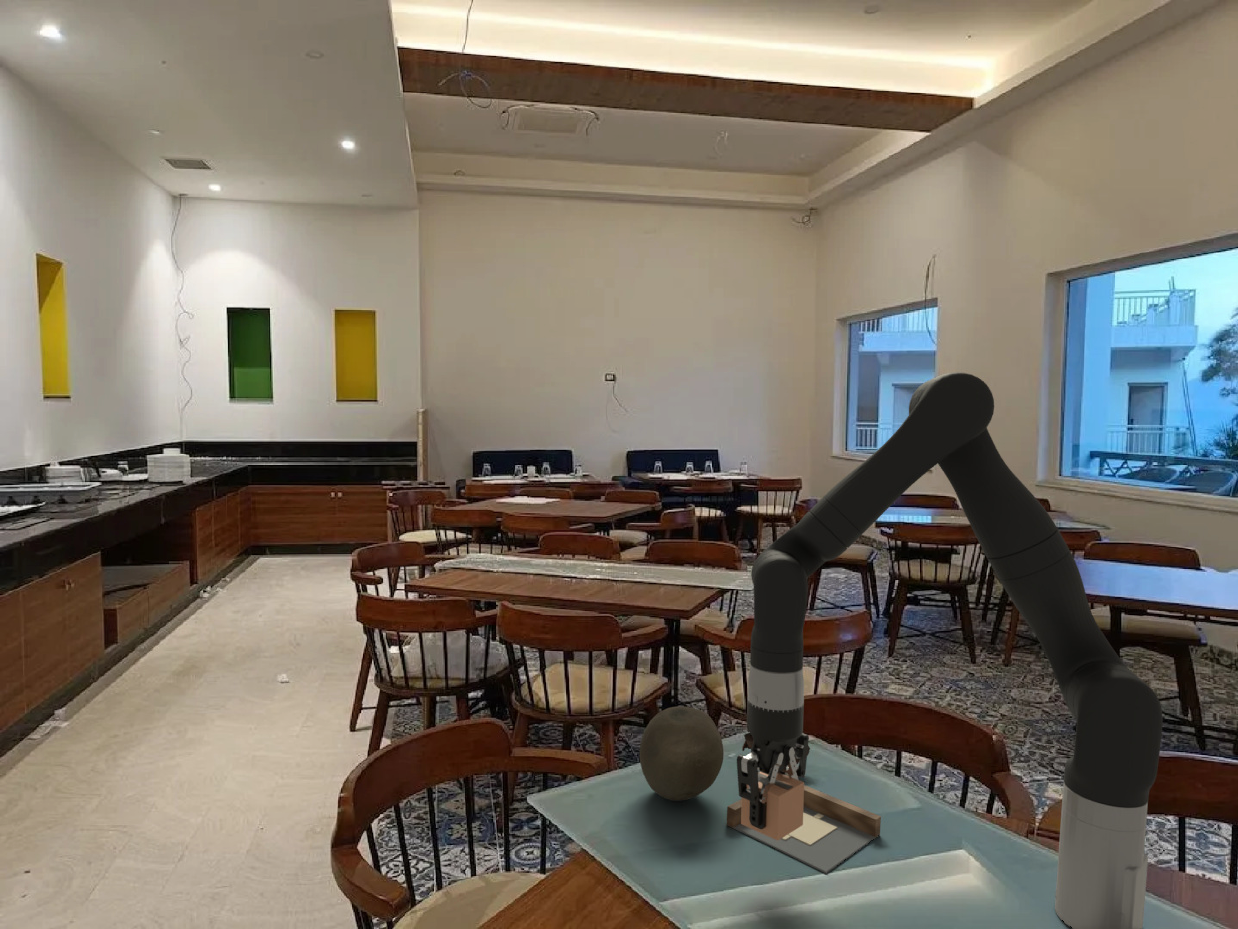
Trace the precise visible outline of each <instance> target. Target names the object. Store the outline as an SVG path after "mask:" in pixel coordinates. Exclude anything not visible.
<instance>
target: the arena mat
mask: <svg viewBox="0 0 1238 929" xmlns="http://www.w3.org/2000/svg"><path fill="white" fill-rule="evenodd" d="M734 830H735V831H738V832H740V833H742V834H743V835H746V836H747V837H750V838H752V839H754V840H756V841H759V842H760V843H762V844H764V845H767V846H768V847H770V846H771V848H772V847H773V849H774V848H775V850H776V851H778V852H781V853H783V854H784V855H787V856H789V857H791V858H792V859H795V860H796V861H799V862H801V863H803V864H805V865H807V866H810V867H811V868H814V869H816V870H817V871H820V872H821V873H824V874H828V873H829V872H831V871H832V870H833V869H834V868H836V867H838V866H839V865H840V863H841V864H842V863H843V862H845V861H846V860H847V858H848V859H849V858H850V857H852V856H853V855H855V854H856V853H857V852H859V851H860V850H862V849H863V848H864V847H866V846H867V845H869V844H870V843H871V842H872V841H871V840H873V839H874V840H875V837H874V836H872V835H870V834H867V833H865V832H863V831H860V830H858V829H856V828H853V827H851V826H849V825H846V824H844V823H842V822H839V821H837V820H835V819H832V818H830V817H828V816H825V815H823V814H821V813H819V812H816V811H814V810H812V809H809V808H807V807H805V806H803V825H802V826H800V827H799V828H797V829H796V830H794V831H793V832H791V833H789V834H788V835H786V836H785V837H783V838H781V839H780V840H778V841H777V840H775V839H773V838H771V837H769V836H766V835H764V834H762V833H760V832H758V831H755V830H753V829H751V828H749V827H747V826H745V825H742V824H739V825H737V826H735V827H734ZM874 840H873V841H874ZM870 841H871V842H870ZM869 842H870V843H869ZM868 843H869V844H868ZM865 845H866V846H865ZM863 846H864V847H863ZM862 847H863V848H862ZM861 848H862V849H861ZM858 850H859V851H858ZM855 852H856V853H855ZM854 853H855V854H854ZM845 859H846V860H845ZM844 860H845V861H844ZM837 865H838V866H837Z"/></svg>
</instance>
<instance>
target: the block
mask: <svg viewBox="0 0 1238 929" xmlns="http://www.w3.org/2000/svg"><path fill="white" fill-rule="evenodd" d="M758 774H759V775H760V776H762V777H765V778H767V777H768V774H765V773H762V772H761V771H758ZM758 785H759V792H761V789H762V783H761V782H758ZM804 785H805V782H804V781H801V780H799V779H798V780H797V779H794V778H789V776H786V775H784V774H779V773H778V774H777V776H776V780H775V783H774V785H773V786H771V787H770V789H769V791H768V796H767V800H766V802H767V812H766V827H765V828H763V829H759V828H757V827H754V826H752V825H751V823H750V820H749V813H750V801H749V800H747V799H744V798H742V797H741V799H742V803H741V824H742V825H745V826H747V827H749V828H751V829H753V830H755V831H758V832H760V833H762V834H764V835H766V836H769V837H771V838H773V839H775V840H777V841H778V840H780V839H781V838H783V837H785V836H786V835H788V834H789V833H791V832H793V831H794V830H796V829H797V828H799V827H800V826H802V825H803V803H804ZM748 787H749V785H747V789H748Z"/></svg>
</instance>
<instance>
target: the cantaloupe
mask: <svg viewBox="0 0 1238 929" xmlns="http://www.w3.org/2000/svg"><path fill="white" fill-rule="evenodd" d="M640 740H641V741H640V745H639V762H640V764H639V765H640V767H641V771H642V774H643V776H644V778H645V780H646V782H647V784H648V786H649V787H650V789H651V790H653V792H654V793H656V794H657V795H659V796H660V797H662V798H664V799H666V800H668V801H673V802H679V801H687V800H690V799H693V798H696V797H697V796H699V795H701V794H702V793H704V792H705V791H706V790H709V788H711V786H712V785H713V784H714V782H715V781H716V779H717V777H718V776H719V774H720V771H721V768H722V766H723V763H724V745H723V739H722V736H721V734H720V732H719V729H718V727H717V725H716V724H715V722H714V720H713V719H712V718H711V716H709V714H707V713H705V711H703V710H701V709H699V708H695V707H689V706H683V705H681V706H672V707H668V708H665V709H663V710H661V711H659V712H658V713H657V714H656V715H654V716H653V718H652V719H650V721H649V723H648V724H647V725H646V727H645V729H644V731H643V734H642V737H641V739H640Z"/></svg>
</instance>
